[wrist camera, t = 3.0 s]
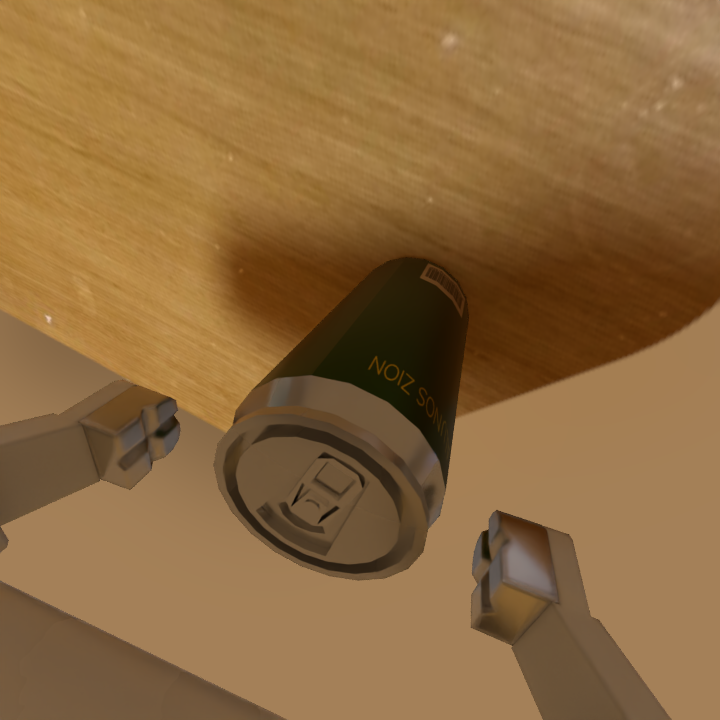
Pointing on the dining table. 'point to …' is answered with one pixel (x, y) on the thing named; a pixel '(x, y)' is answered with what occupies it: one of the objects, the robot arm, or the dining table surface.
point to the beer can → (354, 428)
